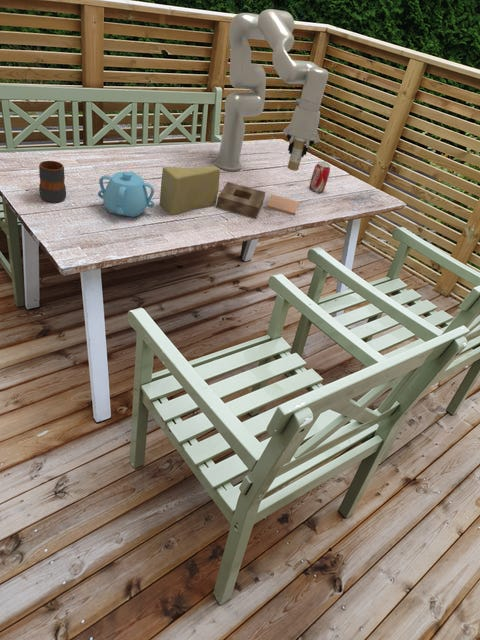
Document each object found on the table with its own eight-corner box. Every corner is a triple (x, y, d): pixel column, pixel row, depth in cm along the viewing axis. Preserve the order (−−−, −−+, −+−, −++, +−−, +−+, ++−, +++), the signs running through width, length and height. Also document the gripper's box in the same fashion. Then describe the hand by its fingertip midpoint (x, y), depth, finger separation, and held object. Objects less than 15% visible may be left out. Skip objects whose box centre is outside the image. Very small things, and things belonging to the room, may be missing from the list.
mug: (57, 187, 175) (56, 155, 168) (70, 202, 168) (69, 169, 161) (32, 189, 170) (30, 156, 163) (44, 204, 164) (42, 171, 156)
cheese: (208, 198, 192) (214, 161, 183) (221, 210, 186) (228, 172, 177) (157, 203, 180) (161, 164, 171) (170, 216, 174) (175, 176, 165)
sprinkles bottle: (294, 166, 193) (303, 132, 185) (300, 171, 190) (309, 136, 182) (284, 166, 191) (293, 131, 183) (290, 171, 188) (299, 136, 180)
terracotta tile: (266, 207, 196) (266, 205, 195) (270, 196, 205) (271, 194, 205) (294, 215, 195) (295, 213, 194) (298, 204, 205) (298, 201, 204)
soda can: (323, 194, 218) (331, 169, 211) (307, 190, 218) (315, 164, 211) (324, 189, 224) (332, 163, 216) (309, 185, 224) (316, 159, 217)
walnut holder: (216, 207, 187) (218, 196, 184) (225, 192, 200) (227, 181, 197) (256, 218, 186) (258, 207, 184) (263, 202, 199) (265, 192, 196)
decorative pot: (94, 201, 172) (94, 164, 164) (135, 196, 181) (137, 161, 173) (114, 223, 163) (115, 185, 154) (156, 217, 172) (160, 181, 163)
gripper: (285, 101, 173) (273, 151, 184) (331, 113, 173) (316, 163, 184) (288, 97, 179) (276, 146, 190) (332, 108, 178) (318, 157, 190)
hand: (296, 154), depth 187 cm, fingers closed on sprinkles bottle, 4 cm apart
